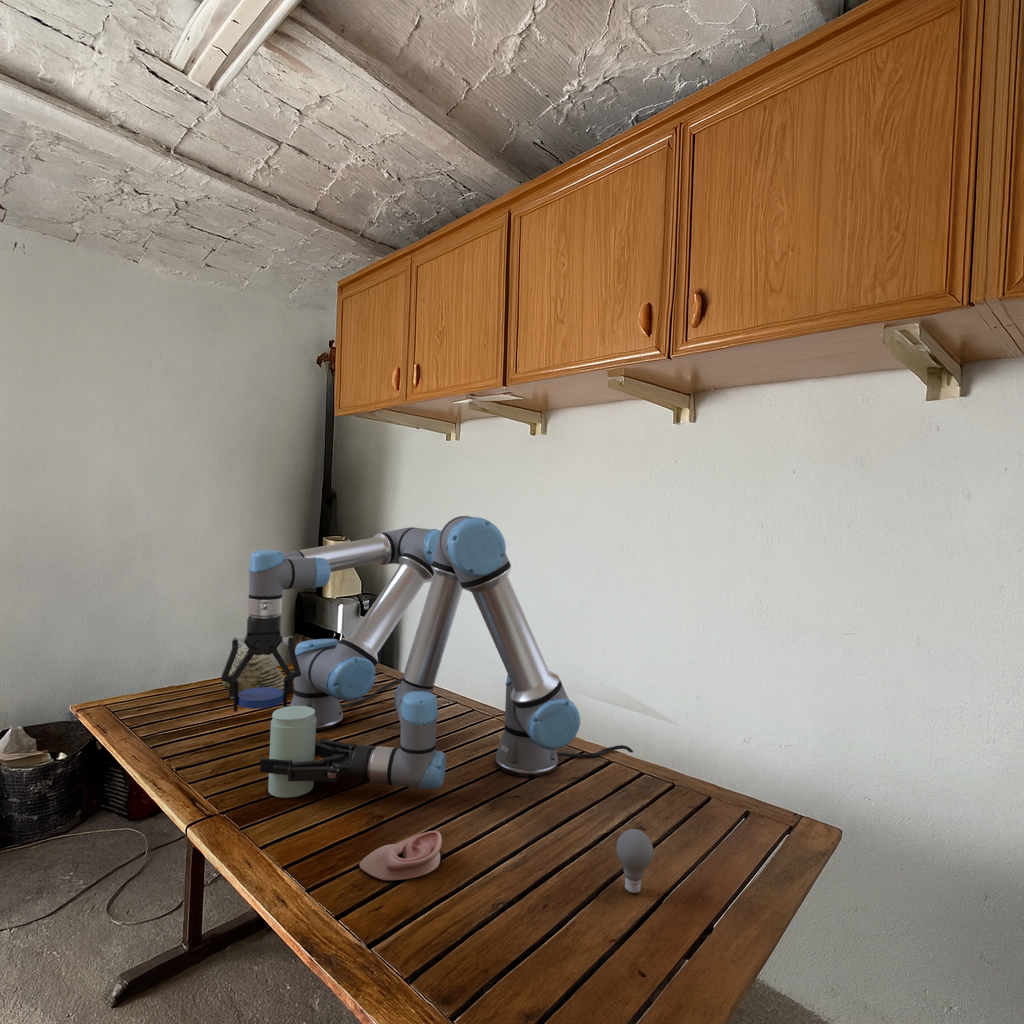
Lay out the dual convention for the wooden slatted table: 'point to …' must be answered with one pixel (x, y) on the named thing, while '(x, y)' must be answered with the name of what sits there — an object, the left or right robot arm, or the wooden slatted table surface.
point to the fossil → (256, 672)
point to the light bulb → (634, 857)
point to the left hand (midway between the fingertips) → (260, 707)
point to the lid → (260, 697)
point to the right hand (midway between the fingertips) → (272, 755)
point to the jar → (292, 747)
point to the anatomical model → (405, 858)
